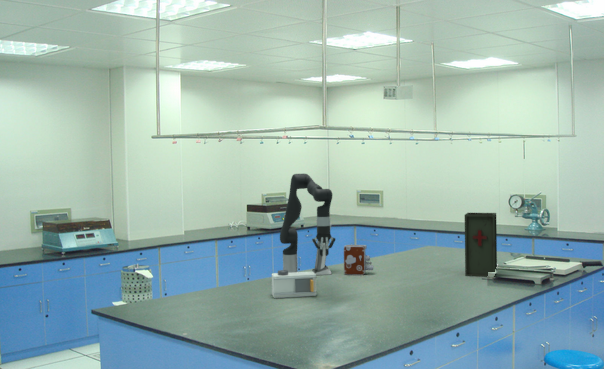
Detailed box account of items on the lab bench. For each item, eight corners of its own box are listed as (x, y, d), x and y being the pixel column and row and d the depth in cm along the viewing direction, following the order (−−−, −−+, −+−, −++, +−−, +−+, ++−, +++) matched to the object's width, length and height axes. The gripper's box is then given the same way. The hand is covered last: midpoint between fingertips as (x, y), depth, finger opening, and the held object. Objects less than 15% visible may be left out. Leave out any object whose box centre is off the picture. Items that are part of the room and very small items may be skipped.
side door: (295, 291, 313) (295, 279, 313) (312, 290, 315) (312, 278, 315) (296, 293, 308) (296, 280, 308) (314, 292, 310) (314, 280, 310)
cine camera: (372, 275, 372) (372, 245, 371) (343, 275, 376) (343, 245, 375) (373, 273, 381) (373, 244, 380) (345, 272, 385) (344, 243, 384)
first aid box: (465, 275, 365) (464, 214, 364) (468, 271, 382) (467, 212, 381) (495, 277, 358) (494, 215, 357) (497, 272, 375) (496, 212, 374)
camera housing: (272, 294, 321) (271, 270, 321) (313, 292, 325) (312, 268, 325) (274, 298, 310) (273, 273, 310) (316, 296, 314) (316, 271, 314)
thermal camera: (333, 274, 378) (332, 223, 378) (314, 275, 376) (313, 223, 376) (329, 271, 390) (328, 221, 389) (311, 272, 388) (310, 222, 387)
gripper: (334, 223, 316) (334, 254, 316) (310, 224, 313) (310, 255, 314) (337, 225, 308) (337, 256, 309) (312, 225, 306) (313, 257, 306)
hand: (324, 255), depth 311 cm, fingers closed
